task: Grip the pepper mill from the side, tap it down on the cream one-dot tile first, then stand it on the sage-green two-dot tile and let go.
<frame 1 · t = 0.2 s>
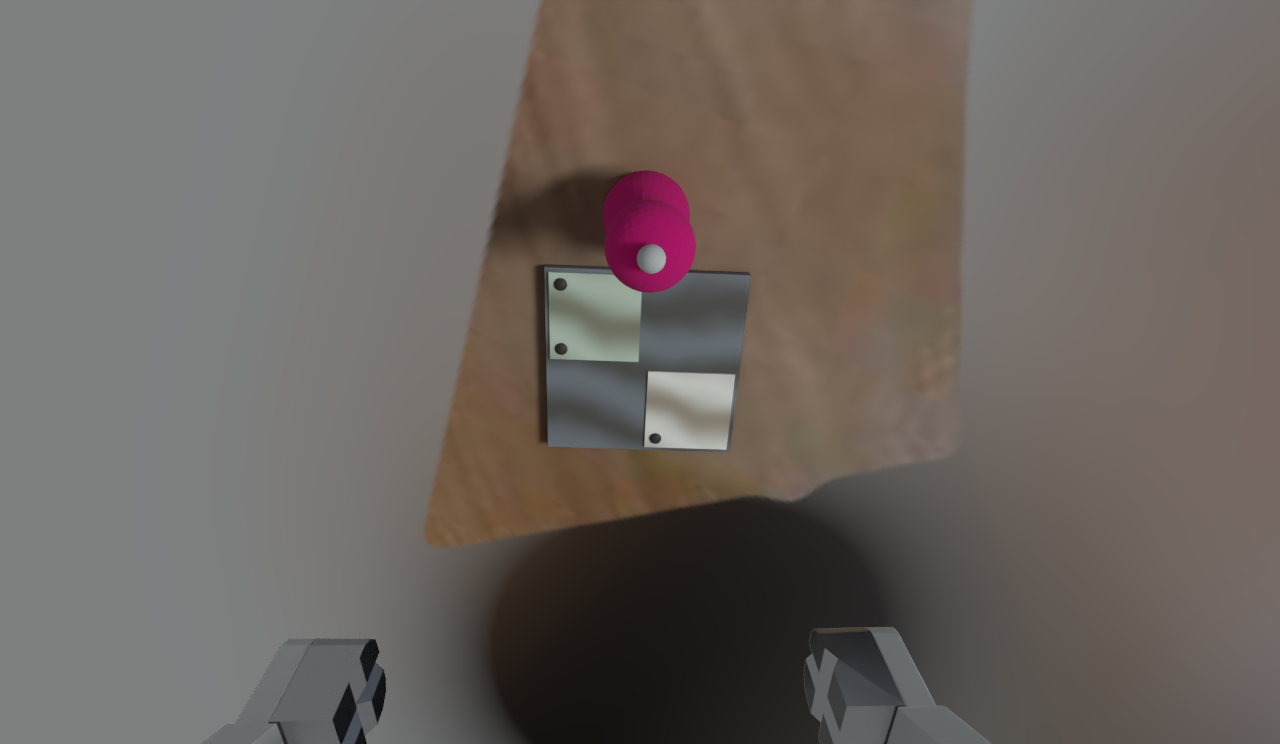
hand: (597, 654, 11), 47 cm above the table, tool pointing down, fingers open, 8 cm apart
pepper mill: (645, 207, 55), on the table
tile board: (643, 362, 61), on the table
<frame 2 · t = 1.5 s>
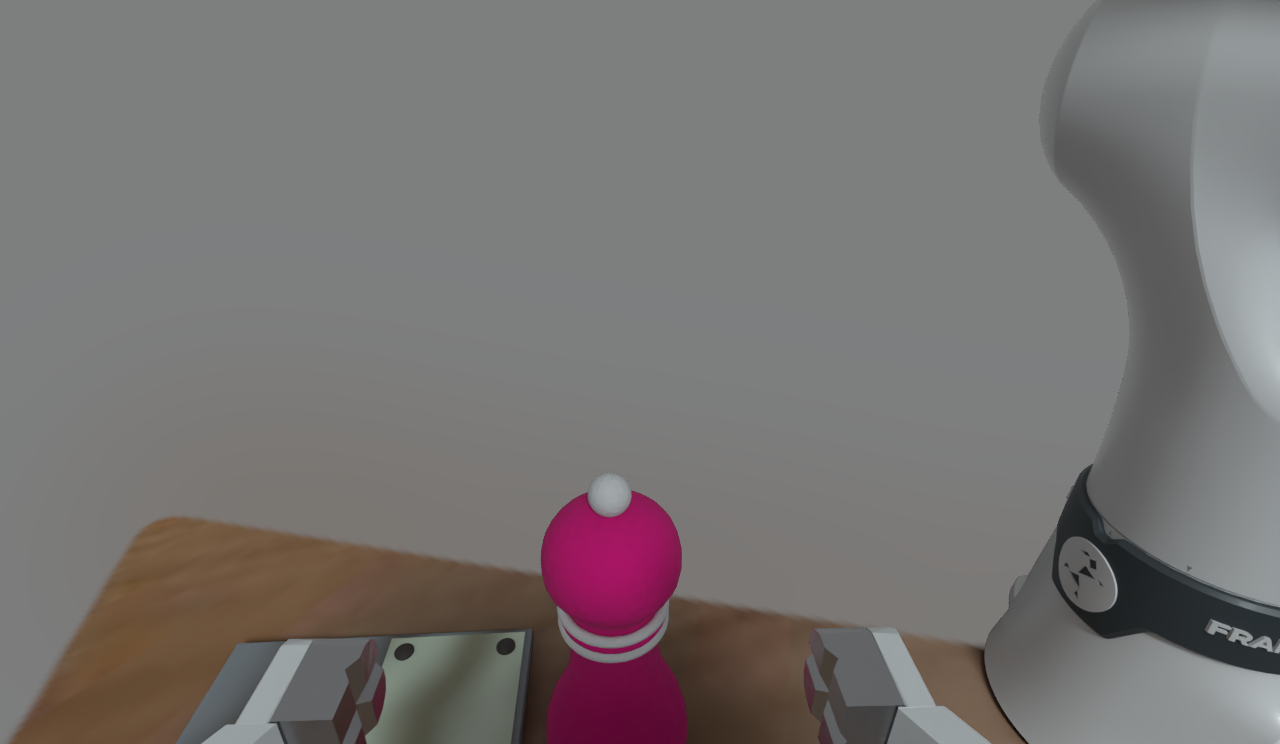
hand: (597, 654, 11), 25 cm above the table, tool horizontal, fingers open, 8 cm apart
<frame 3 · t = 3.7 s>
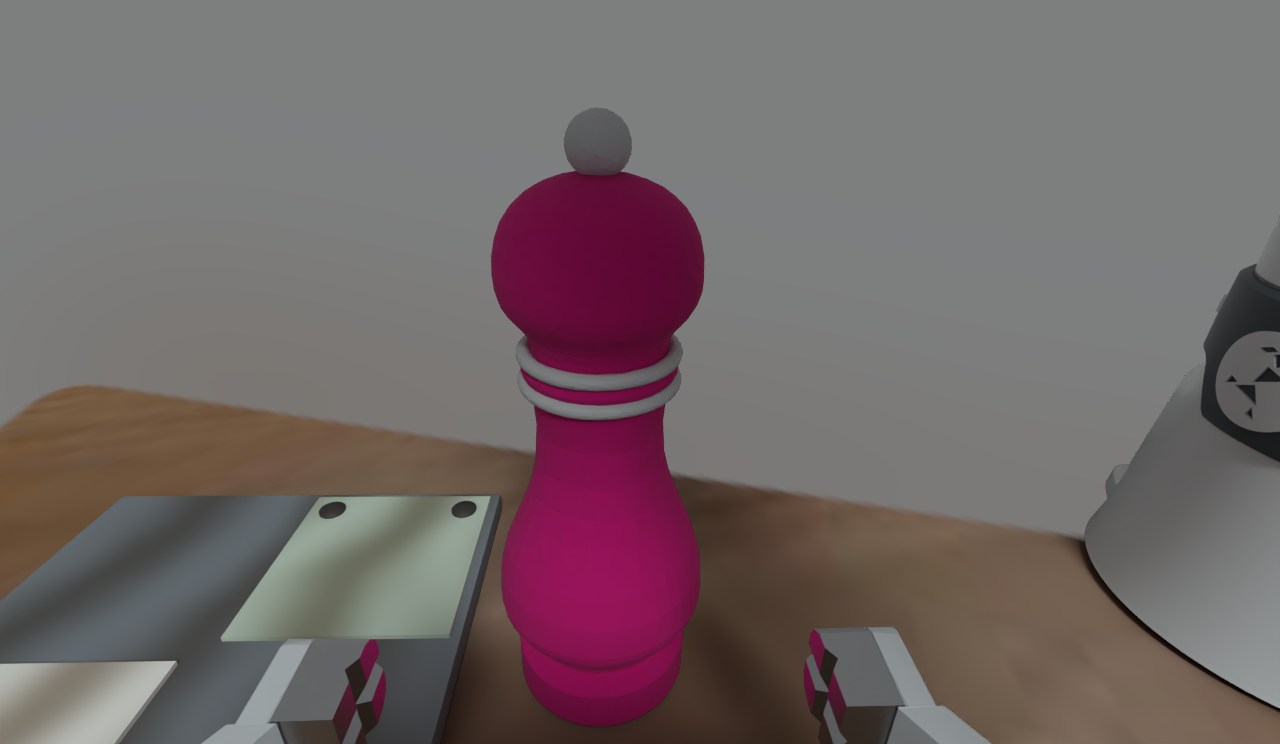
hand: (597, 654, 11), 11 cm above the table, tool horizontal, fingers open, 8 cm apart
pepper mill: (602, 657, 24), on the table
tile board: (208, 671, 23), on the table
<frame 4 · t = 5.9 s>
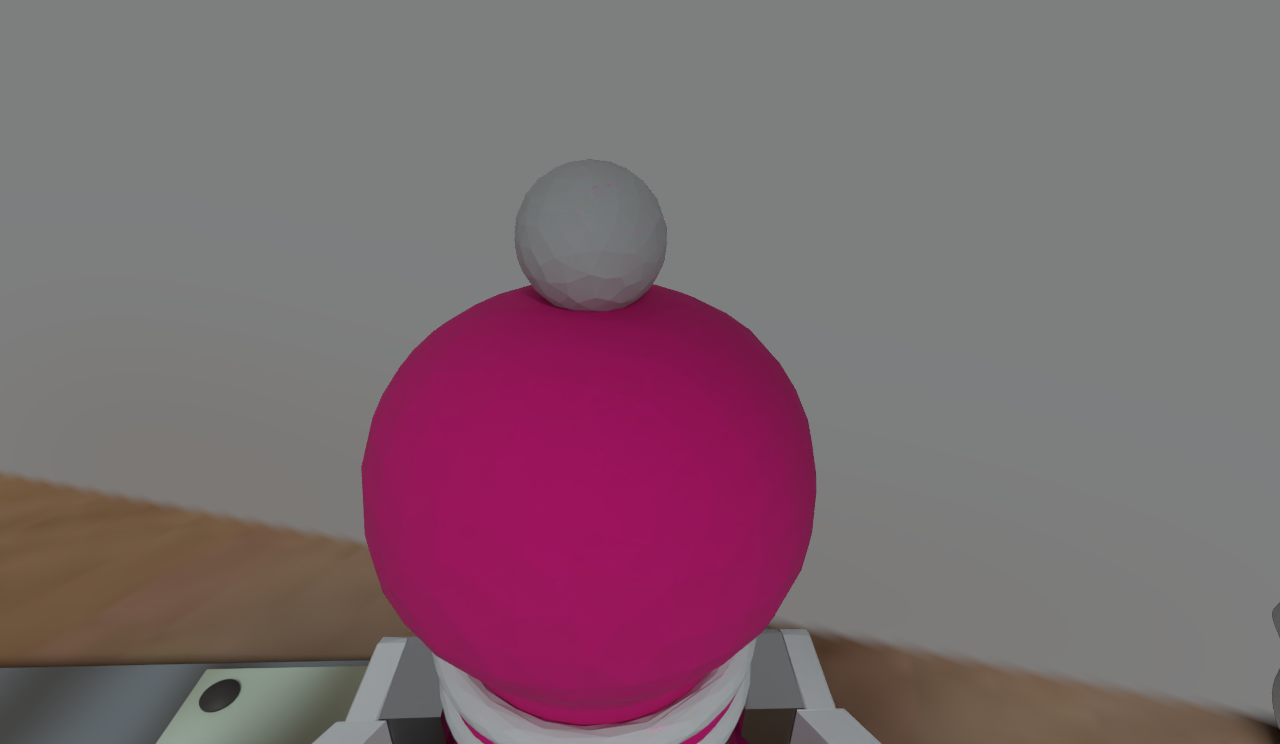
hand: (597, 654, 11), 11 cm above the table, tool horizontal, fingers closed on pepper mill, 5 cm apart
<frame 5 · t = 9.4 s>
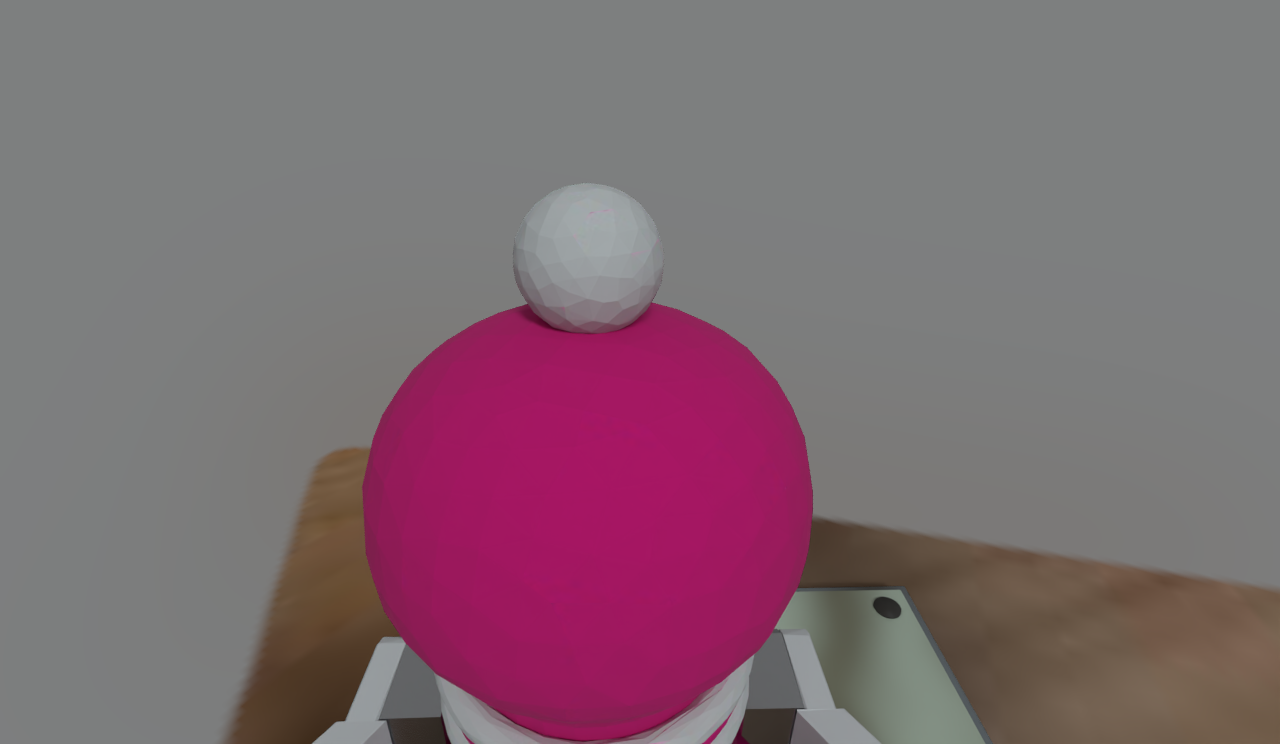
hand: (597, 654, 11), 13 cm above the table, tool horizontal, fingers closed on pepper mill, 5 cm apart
when the fingers open (13 cm above the table, at t = 12.9 s): pepper mill stays where it is, resting on tile board.
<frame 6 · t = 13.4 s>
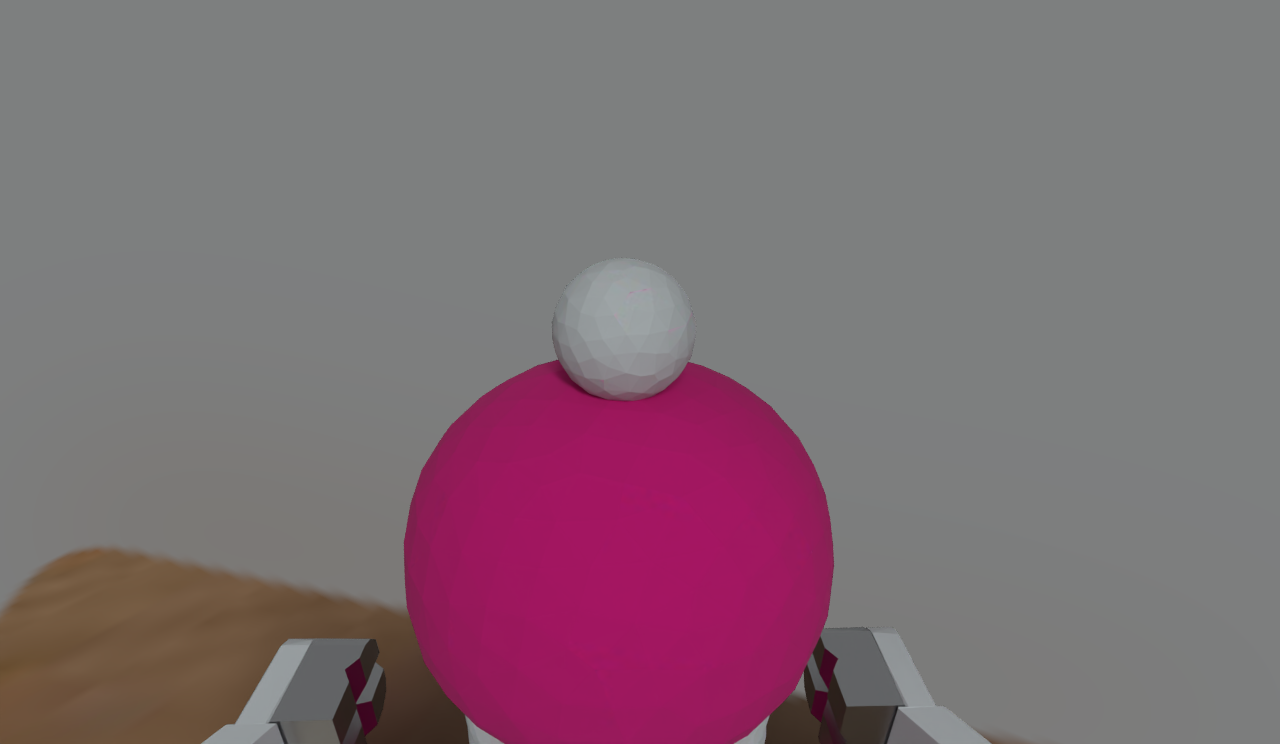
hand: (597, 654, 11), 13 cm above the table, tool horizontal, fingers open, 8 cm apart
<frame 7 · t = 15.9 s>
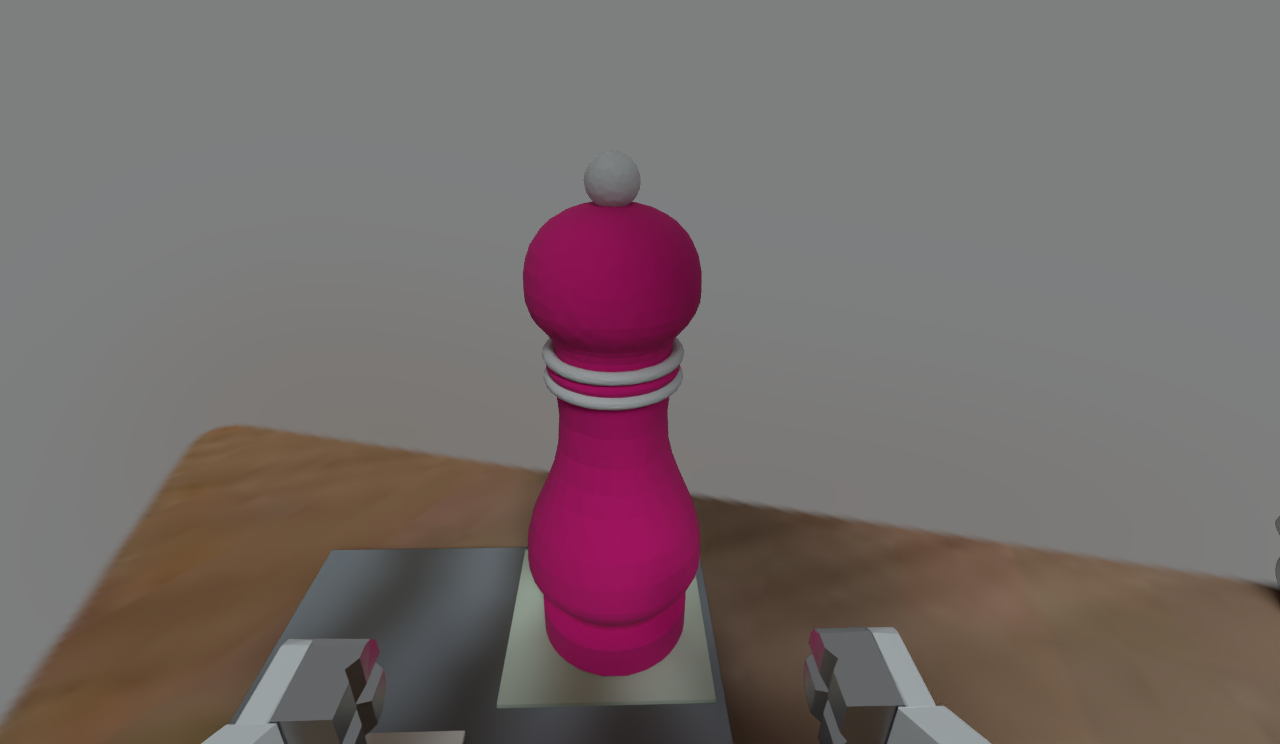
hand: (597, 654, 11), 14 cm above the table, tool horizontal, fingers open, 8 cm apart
pepper mill: (615, 620, 28), point 1 cm above the table, touching tile board
tile board: (484, 737, 24), on the table
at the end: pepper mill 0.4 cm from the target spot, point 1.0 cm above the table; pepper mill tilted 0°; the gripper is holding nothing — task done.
